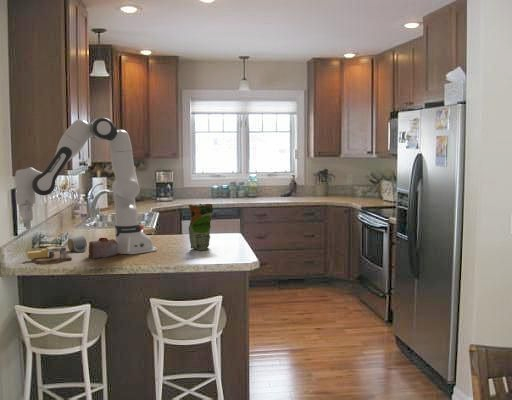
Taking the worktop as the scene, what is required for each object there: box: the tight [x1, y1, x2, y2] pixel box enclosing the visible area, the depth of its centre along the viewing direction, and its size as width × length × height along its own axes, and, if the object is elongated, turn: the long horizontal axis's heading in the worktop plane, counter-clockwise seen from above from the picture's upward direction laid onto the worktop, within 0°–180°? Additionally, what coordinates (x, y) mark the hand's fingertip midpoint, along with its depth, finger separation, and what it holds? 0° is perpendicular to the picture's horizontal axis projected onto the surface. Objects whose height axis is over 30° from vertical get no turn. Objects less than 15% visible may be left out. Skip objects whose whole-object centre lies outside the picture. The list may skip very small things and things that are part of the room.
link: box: [26, 246, 55, 260], centre depth 273 cm, size 13×5×4 cm, turn 119°
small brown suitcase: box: [88, 237, 119, 260], centre depth 280 cm, size 14×8×10 cm, turn 128°
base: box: [32, 246, 72, 265], centre depth 274 cm, size 16×14×6 cm
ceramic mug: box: [67, 235, 88, 253], centre depth 295 cm, size 11×8×8 cm
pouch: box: [188, 203, 214, 252], centre depth 297 cm, size 11×12×25 cm
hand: (26, 227), depth 275 cm, fingers open, 7 cm apart
